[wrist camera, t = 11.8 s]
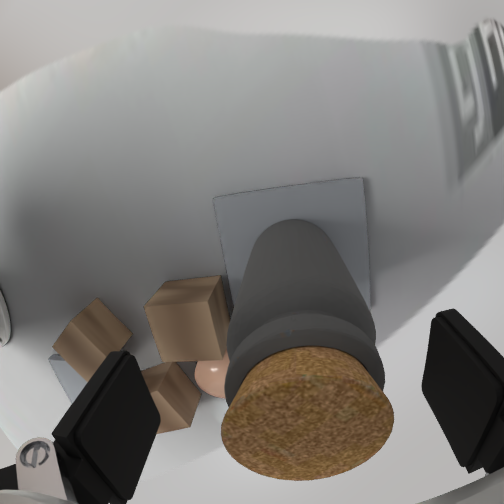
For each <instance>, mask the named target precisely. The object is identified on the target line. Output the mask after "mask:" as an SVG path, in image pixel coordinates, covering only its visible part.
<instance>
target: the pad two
mask: <svg viewBox="0 0 504 504" xmlns="http://www.w3.org/2000/svg"><path fill="white" fill-rule="evenodd" d="M48 360H49V362H50V364H51V366H52V368H53V370H54V372H55V374H56V376H57V378H58V380H59V382H60V384H61V386H62V387H63V389H64V391H65V393H66V395H67V396H68V398H69V400H70V402H71V403H73V402H74V401H75V399H76V398H77V396H78V395H79V394H80V392H81V391H82V389H83V388H84V387H85V385H86V384H87V383H88V382H87V381H86V380H85V379H84V378H83V377H81V376H80V375H79V374H78V373H77V372H76V371H75V370H74V369H73V368H72V367H71V366H70V365H69V364H68V363H67V362H66V361H65V360H64V359H63V358H62V357H61V356H60V355H52V356H51V357H50V358H49V359H48Z"/></svg>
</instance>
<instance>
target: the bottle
mask: <svg viewBox="0 0 504 504" xmlns="http://www.w3.org/2000/svg"><path fill="white" fill-rule="evenodd" d="M375 340H376V331H375V325H374V321H373V318H372V315H371V313H370V310H369V308H368V306H367V304H366V302H365V300H364V298H363V296H362V294H361V293H360V291H359V289H358V287H357V285H356V283H355V281H354V280H353V278H352V276H351V274H350V272H349V270H348V269H347V267H346V265H345V263H344V261H343V260H342V258H341V256H340V254H339V252H338V251H337V249H336V248H335V246H334V244H333V243H332V241H331V240H330V238H329V237H328V236H327V234H326V233H325V232H324V231H323V230H322V229H321V228H319V227H318V226H316V225H315V224H313V223H310V222H307V221H304V220H298V219H290V220H284V221H280V222H277V223H275V224H273V225H271V226H270V227H268V228H267V229H266V230H264V231H263V232H262V234H261V235H260V236H259V237H258V238H257V240H256V242H255V244H254V246H253V248H252V251H251V254H250V257H249V260H248V263H247V266H246V269H245V272H244V276H243V279H242V282H241V286H240V289H239V292H238V295H237V299H236V302H235V305H234V309H233V313H232V316H231V320H230V323H229V327H228V332H227V344H226V346H227V353H228V357H229V361H230V363H229V365H228V369H227V373H226V377H225V384H224V392H225V398H226V402H227V404H228V406H229V408H228V410H227V412H226V414H225V416H224V419H223V422H222V425H221V436H222V441H223V444H224V446H225V448H226V450H227V451H228V453H229V454H230V455H231V456H232V457H233V458H234V459H235V460H236V461H237V462H238V463H240V464H241V465H243V466H244V467H246V468H248V469H250V470H251V471H254V472H256V473H258V474H261V475H264V476H268V477H272V478H277V479H283V480H294V481H299V480H300V481H302V480H314V479H321V478H327V477H331V476H334V475H337V474H340V473H344V472H346V471H349V470H351V469H353V468H355V467H357V466H359V465H361V464H362V463H364V462H366V461H367V460H368V459H369V458H371V457H372V456H373V455H375V454H376V453H377V452H378V451H379V450H380V449H381V448H382V446H383V445H384V444H385V442H386V441H387V439H388V438H389V436H390V434H391V432H392V427H393V423H394V412H393V408H392V405H391V403H390V402H389V400H388V398H387V397H386V395H385V394H384V393H383V389H384V384H385V372H384V368H383V364H382V361H381V358H380V356H379V353H378V351H377V349H376V347H375Z"/></svg>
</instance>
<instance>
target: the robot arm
mask: <svg viewBox="0 0 504 504" xmlns="http://www.w3.org/2000/svg"><path fill="white" fill-rule="evenodd" d="M10 333H11V328H10V318H9V314H8V310H7V306H6V303H5V300H4V297H3V295H2V293H1V290H0V348H1V347H3V346H4V345H5V344H6V343H7V342H8V340H9V338H10ZM422 392H423V394H424V396H425V398H426V400H427V402H428V404H429V405H430V407H431V409H432V411H433V413H434V415H435V417H436V419H437V421H438V422H439V424H440V426H441V428H442V430H443V432H444V434H445V436H446V438H447V440H448V442H449V444H450V446H451V448H452V450H453V452H454V454H455V456H456V458H457V460H458V462H459V464H460V466H461V467H466V469H467V471H468V473H472V472H474V471H476V470H478V469H480V468H482V467H483V468H484V470H485V472H486V474H485V477H484V478H481V479H479V480H477V481H474V482H472V483H470V484H467V485H465V486H463V487H461V488H458V489H455V490H453V491H450V492H448V493H445V494H443V495H440V496H437V497H435V498H432V499H429V500H426V501H423V502H421V503H418V504H504V358H503V356H502V355H501V354H500V353H499V352H498V351H497V350H496V349H495V348H494V347H493V346H492V345H491V344H490V343H489V342H488V341H487V340H486V339H485V338H484V337H483V336H482V335H481V334H480V333H479V332H478V331H477V330H476V329H475V328H474V327H473V326H472V325H471V324H470V323H469V322H468V321H467V320H466V319H465V318H464V317H463V316H462V315H461V314H460V313H459V312H458V311H457V310H455V309H449V310H445V311H441V312H438V313H437V314H436V317H435V318H433V319H432V321H431V328H430V336H429V344H428V351H427V357H426V363H425V370H424V374H423V380H422ZM160 422H161V417H160V413H159V411H158V409H157V407H156V405H155V403H154V400H153V398H152V396H151V394H150V392H149V389H148V387H147V385H146V382H145V380H144V378H143V375H142V373H141V370H140V368H139V366H138V363H137V361H136V358H135V357H134V356H132V355H131V354H130V353H129V352H127V351H112V352H110V353H109V354H108V356H107V357H106V358H105V360H104V361H103V362H102V364H101V365H100V366H99V368H98V369H97V370H96V372H95V373H94V374H93V376H92V377H91V378H90V380H89V381H88V383H87V384H86V385H85V387H84V388H83V389H82V391H81V392H80V394H79V395H78V396H77V398H76V399H75V401H74V402H73V403H72V405H71V406H70V408H69V409H68V410H67V412H66V413H65V415H64V416H63V418H62V419H61V420H60V422H59V423H58V425H57V426H56V428H55V429H54V431H53V432H52V435H53V437H54V438H55V441H54V442H53V443H52V442H51V441H50V440H49V439H46V438H42V437H38V438H33V439H31V440H28V441H27V442H25V443H24V444H23V445H22V446H21V447H20V448H19V450H18V452H17V454H16V464H14V465H11V466H9V467H5V468H3V469H0V504H108V503H110V504H126V503H127V500H130V499H131V498H132V497H133V494H134V492H135V489H136V486H137V484H138V481H139V478H140V476H141V473H142V470H143V468H144V465H145V462H146V460H147V457H148V454H149V452H150V449H151V447H152V444H153V441H154V439H155V436H156V433H157V431H158V428H159V426H160Z"/></svg>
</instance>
